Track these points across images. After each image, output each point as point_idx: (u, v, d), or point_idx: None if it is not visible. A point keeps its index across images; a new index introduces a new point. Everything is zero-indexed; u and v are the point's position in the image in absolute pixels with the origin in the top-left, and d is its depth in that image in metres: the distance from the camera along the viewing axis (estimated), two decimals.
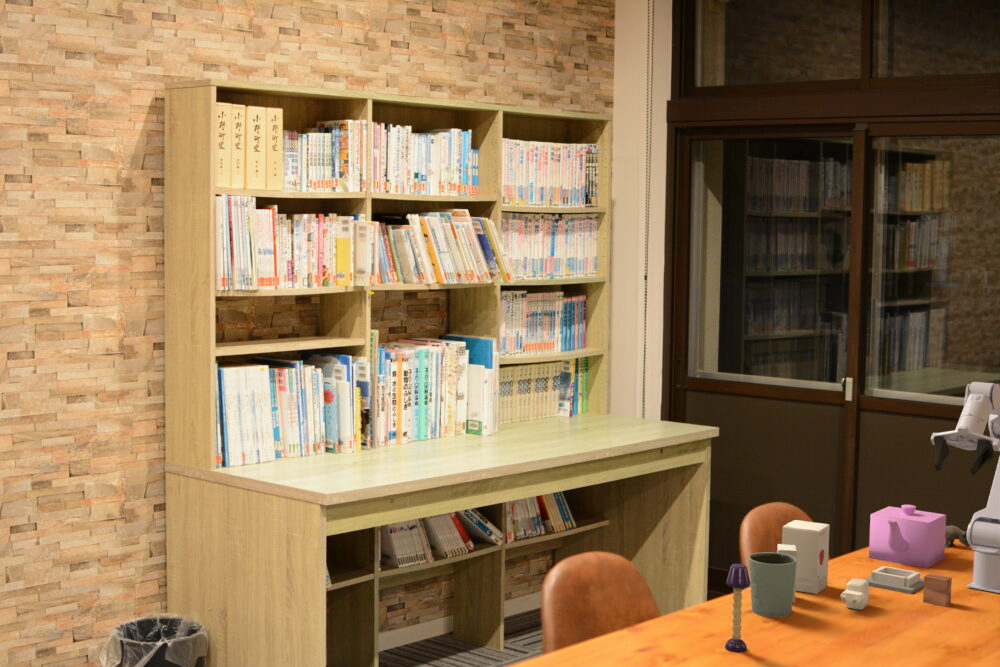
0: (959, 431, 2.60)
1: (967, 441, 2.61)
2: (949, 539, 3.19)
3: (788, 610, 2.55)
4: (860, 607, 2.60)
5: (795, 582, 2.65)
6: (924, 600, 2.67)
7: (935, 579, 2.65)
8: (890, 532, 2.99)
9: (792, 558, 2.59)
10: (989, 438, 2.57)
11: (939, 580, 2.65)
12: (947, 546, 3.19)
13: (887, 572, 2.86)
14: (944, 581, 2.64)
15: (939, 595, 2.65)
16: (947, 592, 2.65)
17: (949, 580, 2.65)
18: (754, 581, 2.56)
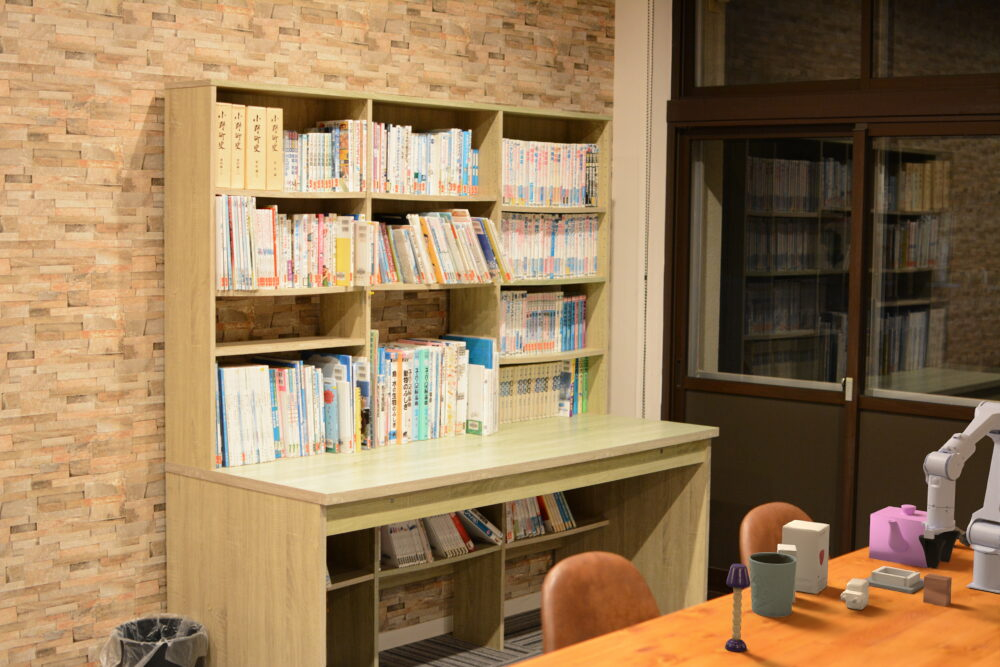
0: None
1: None
2: None
3: (788, 610, 2.55)
4: (860, 607, 2.60)
5: (795, 582, 2.65)
6: (924, 600, 2.67)
7: (935, 579, 2.65)
8: (890, 532, 2.99)
9: (792, 558, 2.59)
10: None
11: (939, 580, 2.65)
12: None
13: (887, 572, 2.86)
14: (944, 581, 2.64)
15: (939, 595, 2.65)
16: (947, 592, 2.65)
17: (949, 580, 2.65)
18: (754, 581, 2.56)
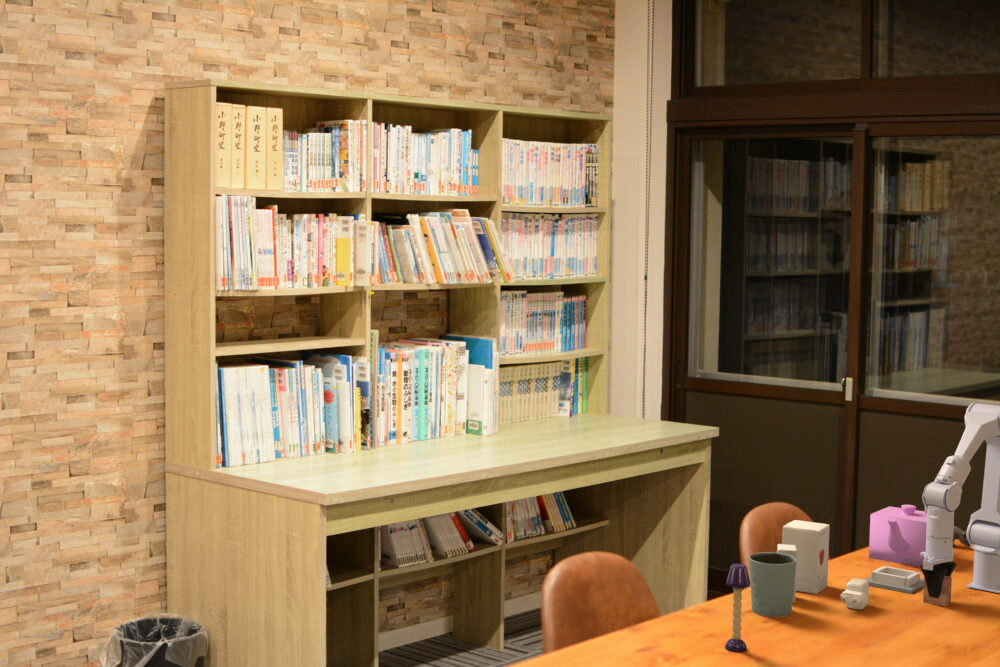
0: None
1: None
2: None
3: (788, 610, 2.55)
4: (860, 607, 2.60)
5: (795, 582, 2.65)
6: (924, 600, 2.67)
7: None
8: (890, 531, 2.99)
9: (792, 558, 2.59)
10: (924, 560, 2.63)
11: None
12: None
13: (887, 572, 2.86)
14: (944, 581, 2.64)
15: None
16: (947, 592, 2.65)
17: (949, 580, 2.65)
18: (754, 581, 2.56)
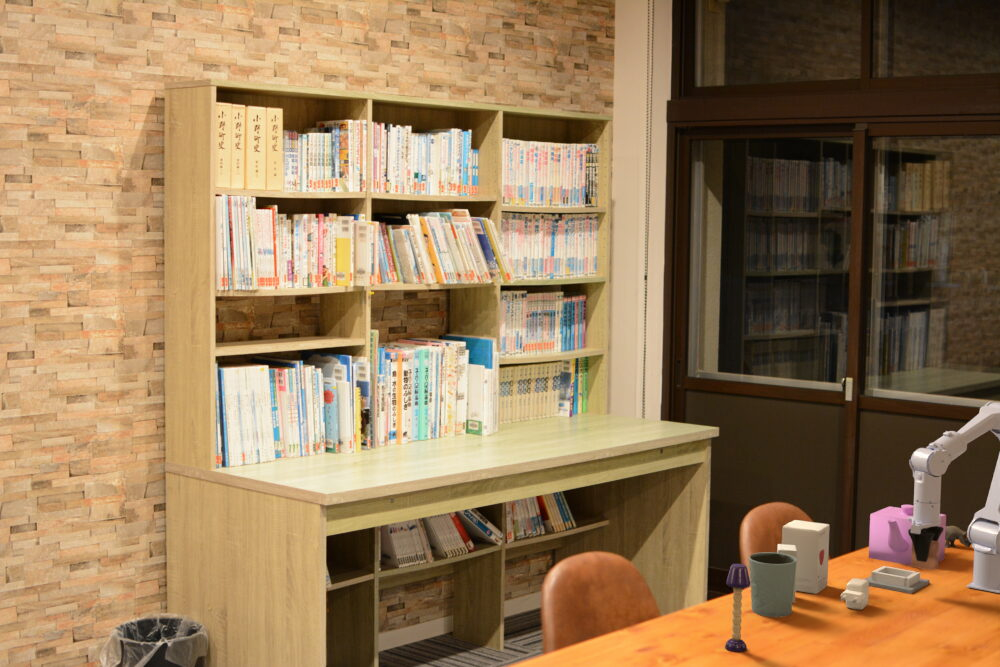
0: None
1: None
2: (949, 539, 3.18)
3: (788, 610, 2.55)
4: (860, 607, 2.60)
5: (795, 582, 2.65)
6: (912, 564, 2.72)
7: None
8: (890, 531, 2.99)
9: (792, 558, 2.59)
10: None
11: None
12: (947, 546, 3.19)
13: (887, 572, 2.86)
14: (932, 545, 2.69)
15: None
16: (935, 556, 2.69)
17: (937, 544, 2.70)
18: (754, 581, 2.56)
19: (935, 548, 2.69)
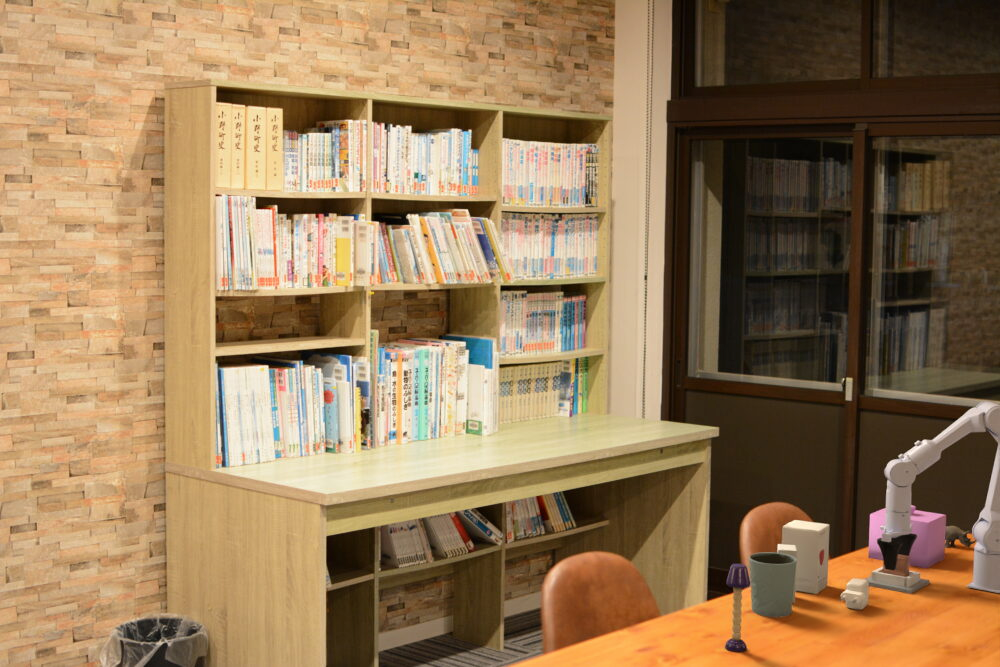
0: None
1: None
2: (949, 539, 3.18)
3: (788, 610, 2.55)
4: (860, 607, 2.60)
5: (795, 582, 2.65)
6: None
7: None
8: None
9: (792, 558, 2.59)
10: (883, 533, 2.78)
11: (897, 559, 2.80)
12: (947, 546, 3.19)
13: None
14: (902, 560, 2.79)
15: (897, 573, 2.80)
16: (905, 570, 2.80)
17: (907, 559, 2.80)
18: (754, 581, 2.56)
19: (905, 562, 2.80)
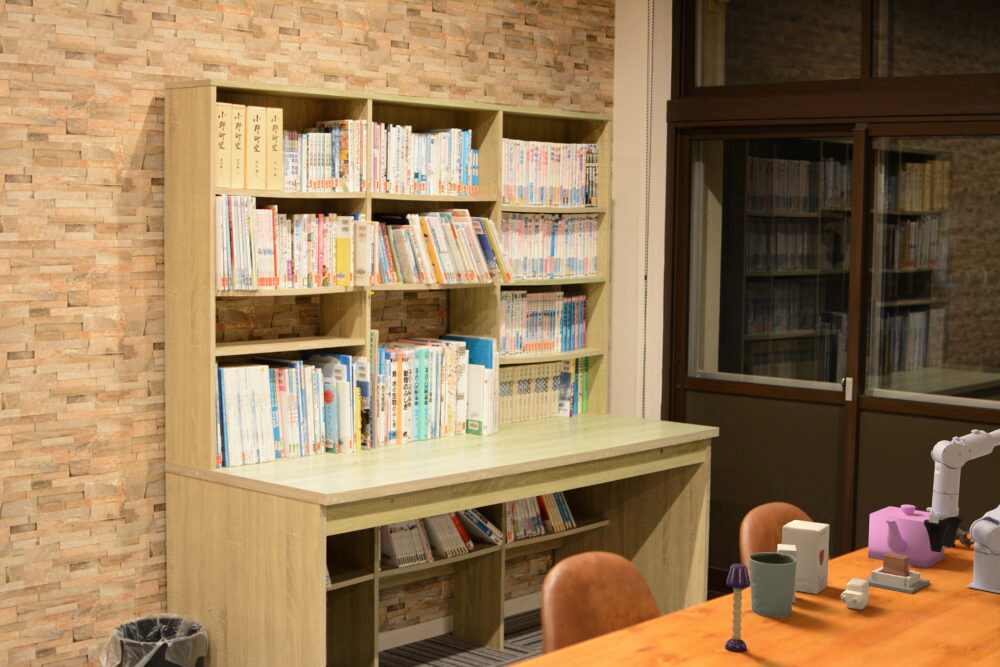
0: None
1: None
2: None
3: (788, 610, 2.55)
4: (860, 607, 2.60)
5: (795, 582, 2.65)
6: None
7: (894, 558, 2.80)
8: (889, 531, 2.99)
9: (792, 558, 2.59)
10: None
11: (897, 559, 2.80)
12: None
13: None
14: (902, 560, 2.79)
15: (897, 573, 2.80)
16: (905, 570, 2.80)
17: (907, 559, 2.80)
18: (754, 581, 2.56)
19: (905, 562, 2.80)
